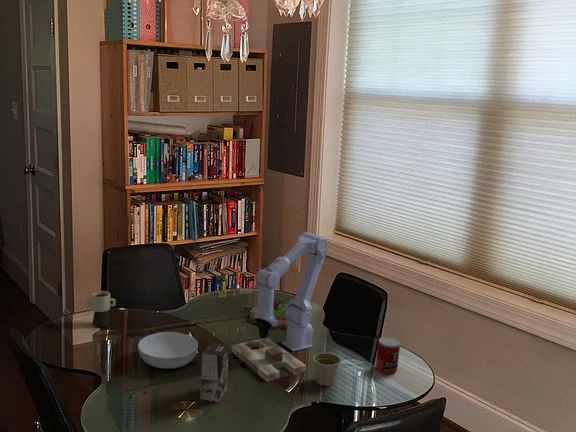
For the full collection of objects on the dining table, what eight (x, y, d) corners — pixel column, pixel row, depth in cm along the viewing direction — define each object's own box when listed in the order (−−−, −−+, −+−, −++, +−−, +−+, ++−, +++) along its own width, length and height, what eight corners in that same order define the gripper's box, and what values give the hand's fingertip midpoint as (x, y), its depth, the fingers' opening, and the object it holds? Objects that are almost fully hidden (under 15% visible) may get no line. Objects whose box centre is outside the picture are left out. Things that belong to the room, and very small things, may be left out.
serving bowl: (125, 367, 226) (126, 349, 224) (157, 345, 245) (158, 327, 243) (179, 381, 219) (179, 362, 217) (207, 356, 238) (208, 338, 237)
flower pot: (330, 391, 219) (332, 367, 217) (306, 383, 223) (308, 359, 221) (343, 381, 226) (345, 358, 224) (320, 373, 231) (321, 350, 229)
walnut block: (275, 356, 236) (276, 347, 235) (282, 361, 233) (282, 352, 232) (264, 358, 234) (265, 349, 233) (271, 363, 230) (272, 354, 229)
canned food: (384, 375, 232) (387, 347, 230) (371, 366, 239) (374, 338, 236) (401, 372, 236) (404, 344, 233) (388, 363, 242) (391, 335, 240)
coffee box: (219, 403, 207) (221, 355, 203) (199, 399, 208) (201, 352, 204) (227, 389, 215) (229, 344, 212) (208, 386, 216) (210, 341, 213)
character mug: (116, 321, 263) (116, 291, 260) (113, 328, 256) (114, 297, 253) (88, 321, 262) (88, 290, 259) (85, 328, 255) (85, 296, 252)
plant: (259, 308, 288) (260, 284, 286) (301, 315, 283) (303, 291, 281) (242, 324, 270) (244, 298, 267) (288, 332, 264) (289, 306, 262)
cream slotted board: (267, 343, 252) (267, 337, 251) (305, 372, 231) (306, 365, 230) (230, 351, 243) (230, 345, 243) (266, 381, 222) (267, 374, 222)
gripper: (245, 297, 239) (244, 332, 242) (266, 311, 227) (264, 347, 230) (262, 294, 243) (260, 328, 246) (283, 308, 231) (281, 343, 234)
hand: (263, 337), depth 238 cm, fingers closed
